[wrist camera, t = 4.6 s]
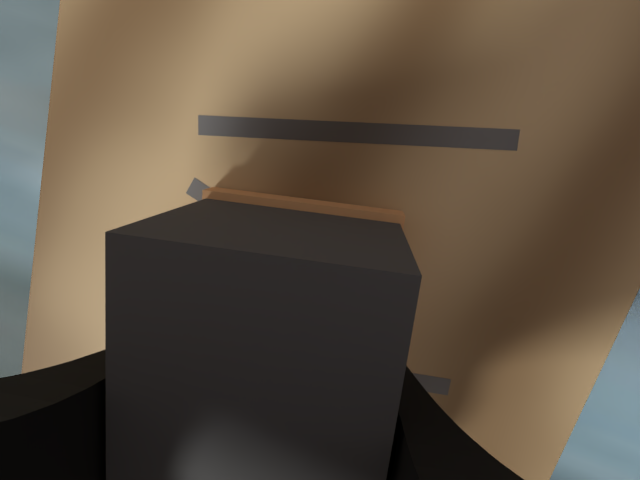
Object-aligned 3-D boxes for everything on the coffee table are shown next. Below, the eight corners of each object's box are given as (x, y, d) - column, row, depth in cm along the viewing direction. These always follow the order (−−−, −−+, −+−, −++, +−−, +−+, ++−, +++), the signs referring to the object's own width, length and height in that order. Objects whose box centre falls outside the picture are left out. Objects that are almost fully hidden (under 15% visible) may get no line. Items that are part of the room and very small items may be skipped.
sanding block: (402, 210, 11) (430, 263, 6) (356, 501, 13) (349, 714, 8) (213, 186, 11) (98, 218, 6) (197, 472, 13) (101, 658, 9)
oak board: (818, -181, 9) (883, -228, 8) (457, 618, 15) (465, 658, 14) (131, -333, 10) (101, -397, 9) (33, 482, 16) (6, 509, 15)
